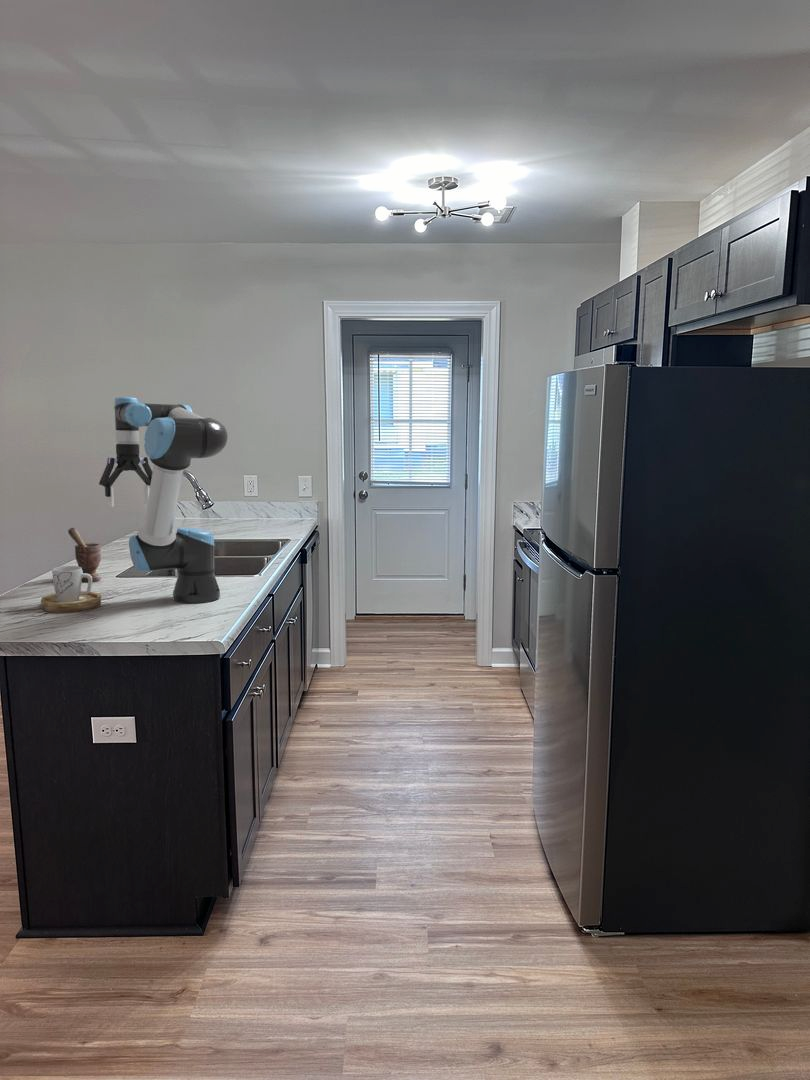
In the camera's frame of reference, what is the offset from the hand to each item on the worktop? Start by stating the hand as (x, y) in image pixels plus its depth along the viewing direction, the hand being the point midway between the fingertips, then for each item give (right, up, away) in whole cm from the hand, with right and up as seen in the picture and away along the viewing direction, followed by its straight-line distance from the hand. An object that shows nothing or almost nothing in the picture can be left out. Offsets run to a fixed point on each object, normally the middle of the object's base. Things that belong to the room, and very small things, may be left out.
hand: (129, 505), depth 263 cm
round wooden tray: (-9, -33, -25) cm, 42 cm away
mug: (-8, -31, -25) cm, 41 cm away
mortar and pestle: (-19, -27, +10) cm, 35 cm away
